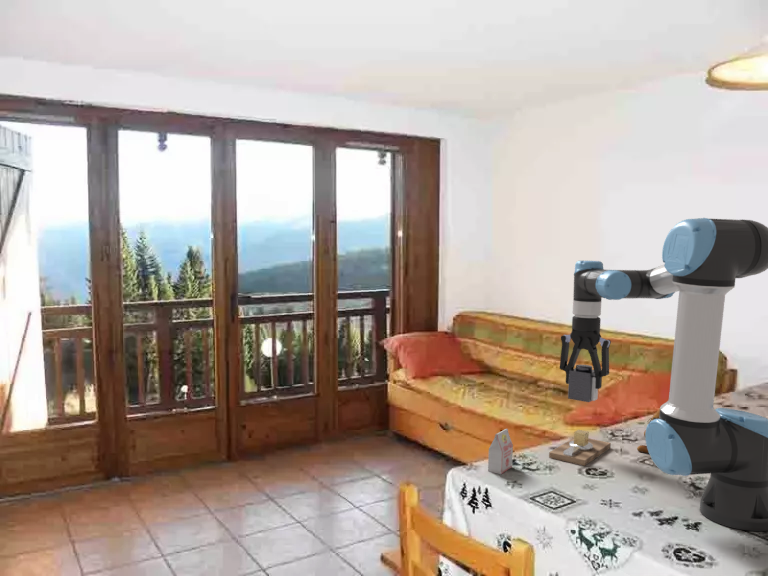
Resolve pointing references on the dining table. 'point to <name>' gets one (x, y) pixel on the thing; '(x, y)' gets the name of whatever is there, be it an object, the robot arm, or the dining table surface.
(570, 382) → the grey cube with knob
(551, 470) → the dining table surface
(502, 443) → the white gable top carton
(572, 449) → the block
